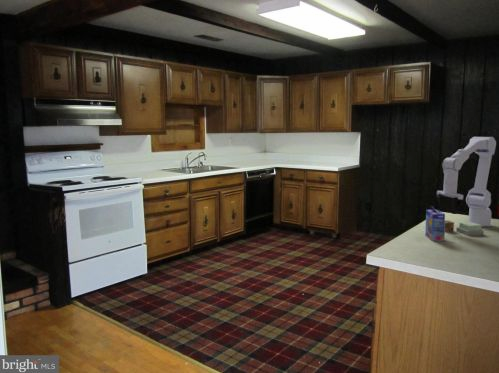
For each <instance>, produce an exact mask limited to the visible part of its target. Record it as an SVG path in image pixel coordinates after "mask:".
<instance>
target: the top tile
mask: <svg viewBox="0 0 499 373" xmlns="http://www.w3.org/2000/svg"><path fill="white" fill-rule="evenodd" d="M458 227H459V228H461V229H464V230H467V231H481V230H482V227H483V226H482V225H480V224H477V223H473V222H469V221H467V222H464V221H463V222H459V226H458Z"/></svg>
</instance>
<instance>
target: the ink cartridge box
mask: <svg viewBox="0 0 499 373" xmlns="http://www.w3.org/2000/svg"><path fill="white" fill-rule="evenodd" d="M430 207H431V209H426V210H425V236H426V237H427V238H428V239H429V240H431V241H432V242H444V241H445V236H446V235H445V234H446V232H445V221H446V214H445V213H444V212H442V211H440V209H435V207H434V206H432V205H430Z"/></svg>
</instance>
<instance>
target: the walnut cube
mask: <svg viewBox="0 0 499 373" xmlns="http://www.w3.org/2000/svg"><path fill="white" fill-rule="evenodd" d="M454 229H455V222H453V221H451V220H446V219H445V233H451V232H454Z"/></svg>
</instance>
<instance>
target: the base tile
mask: <svg viewBox="0 0 499 373" xmlns="http://www.w3.org/2000/svg"><path fill="white" fill-rule="evenodd" d="M456 232H457V233H460V234H463V235H465V236H466V237H467V236H469V237H470V236H484V233H485V231H484V230H482V229H481V231H467V230H464V229H461V228H459V226H458V227H457V226H456Z"/></svg>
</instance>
